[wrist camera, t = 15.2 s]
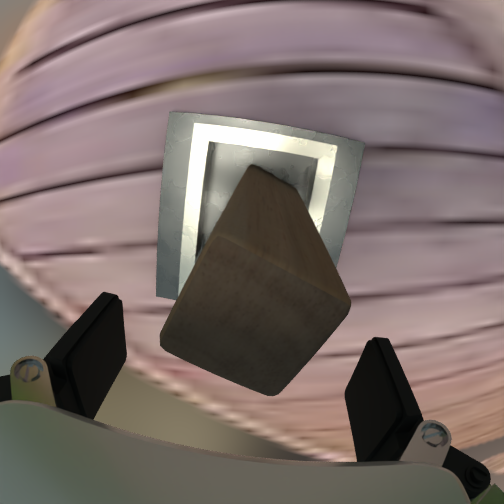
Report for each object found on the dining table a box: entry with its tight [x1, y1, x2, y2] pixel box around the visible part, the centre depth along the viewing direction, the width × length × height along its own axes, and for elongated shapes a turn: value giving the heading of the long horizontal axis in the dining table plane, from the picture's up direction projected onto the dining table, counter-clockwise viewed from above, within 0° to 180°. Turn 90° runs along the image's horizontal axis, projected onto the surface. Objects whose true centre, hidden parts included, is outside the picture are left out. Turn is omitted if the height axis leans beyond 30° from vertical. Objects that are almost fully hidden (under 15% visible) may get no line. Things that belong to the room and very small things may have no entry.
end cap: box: [156, 112, 365, 300], centre depth 26 cm, size 16×17×4 cm
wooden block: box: [160, 164, 351, 396], centre depth 18 cm, size 9×4×18 cm, turn 151°
